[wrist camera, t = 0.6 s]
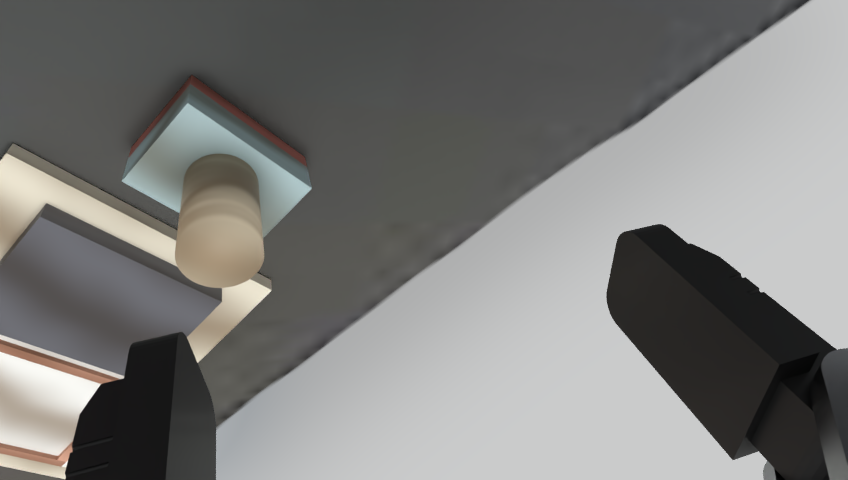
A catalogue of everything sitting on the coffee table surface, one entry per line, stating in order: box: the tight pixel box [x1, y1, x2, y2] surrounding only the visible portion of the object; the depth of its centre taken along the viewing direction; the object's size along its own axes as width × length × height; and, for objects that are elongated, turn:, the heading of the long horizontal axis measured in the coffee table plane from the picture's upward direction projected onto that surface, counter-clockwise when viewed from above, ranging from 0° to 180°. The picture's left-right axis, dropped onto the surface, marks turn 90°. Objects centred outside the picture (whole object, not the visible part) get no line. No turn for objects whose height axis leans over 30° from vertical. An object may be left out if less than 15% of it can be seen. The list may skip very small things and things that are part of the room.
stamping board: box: [0, 143, 272, 479], centre depth 32 cm, size 22×15×2 cm
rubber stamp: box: [122, 75, 312, 288], centre depth 26 cm, size 5×7×9 cm
